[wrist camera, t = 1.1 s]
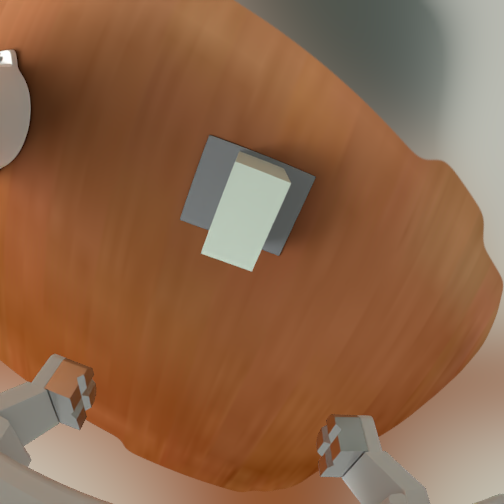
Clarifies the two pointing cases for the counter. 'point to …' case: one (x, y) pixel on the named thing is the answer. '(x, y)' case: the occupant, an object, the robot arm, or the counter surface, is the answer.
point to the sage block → (246, 211)
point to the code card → (215, 179)
